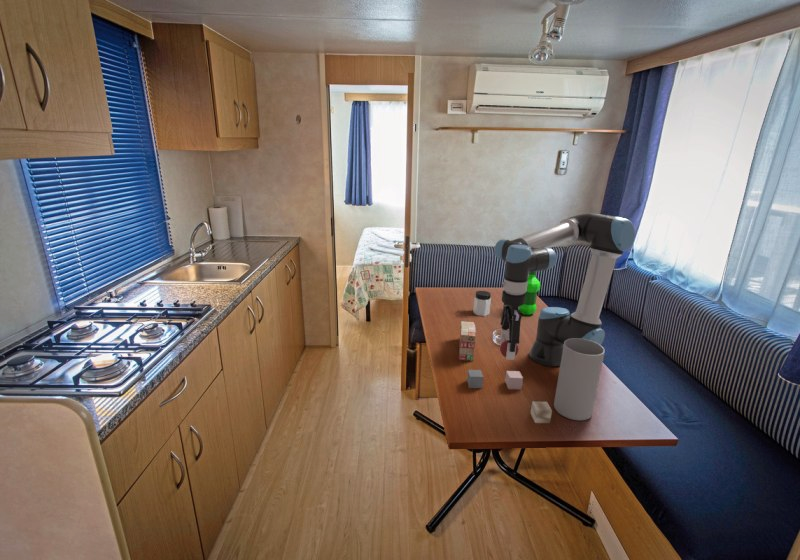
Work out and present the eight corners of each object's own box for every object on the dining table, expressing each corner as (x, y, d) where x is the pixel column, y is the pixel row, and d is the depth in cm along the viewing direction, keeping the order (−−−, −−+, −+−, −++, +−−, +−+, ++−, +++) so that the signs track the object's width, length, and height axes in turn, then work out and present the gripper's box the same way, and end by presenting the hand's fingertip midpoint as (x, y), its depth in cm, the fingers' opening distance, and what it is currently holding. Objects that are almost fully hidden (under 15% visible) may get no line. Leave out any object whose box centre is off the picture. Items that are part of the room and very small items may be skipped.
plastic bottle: (513, 312, 230) (519, 270, 222) (523, 308, 236) (529, 267, 229) (529, 318, 223) (535, 274, 215) (539, 313, 229) (545, 271, 222)
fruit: (514, 357, 144) (512, 335, 146) (521, 357, 139) (518, 333, 140) (497, 358, 143) (495, 335, 145) (503, 358, 138) (501, 334, 139)
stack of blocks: (459, 338, 196) (461, 315, 193) (472, 339, 195) (475, 316, 192) (458, 360, 176) (460, 334, 172) (473, 361, 175) (475, 335, 172)
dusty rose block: (517, 382, 160) (519, 371, 159) (521, 389, 156) (523, 378, 154) (505, 382, 160) (506, 370, 159) (508, 389, 156) (509, 377, 154)
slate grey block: (479, 381, 160) (480, 370, 159) (482, 388, 156) (483, 376, 154) (467, 380, 160) (468, 369, 159) (468, 388, 156) (470, 376, 154)
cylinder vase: (554, 396, 152) (564, 335, 144) (591, 405, 147) (603, 342, 139) (552, 415, 141) (563, 350, 133) (592, 425, 136) (605, 358, 128)
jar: (491, 315, 224) (493, 295, 221) (477, 316, 223) (479, 296, 219) (484, 309, 233) (486, 290, 229) (471, 310, 231) (473, 290, 227)
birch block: (544, 414, 141) (546, 401, 140) (549, 423, 137) (552, 410, 135) (530, 413, 141) (532, 401, 140) (535, 423, 137) (537, 410, 135)
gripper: (496, 281, 146) (490, 338, 153) (511, 302, 126) (503, 367, 133) (517, 281, 146) (510, 339, 153) (535, 303, 126) (526, 368, 133)
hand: (506, 352), depth 143 cm, fingers closed on fruit, 8 cm apart
